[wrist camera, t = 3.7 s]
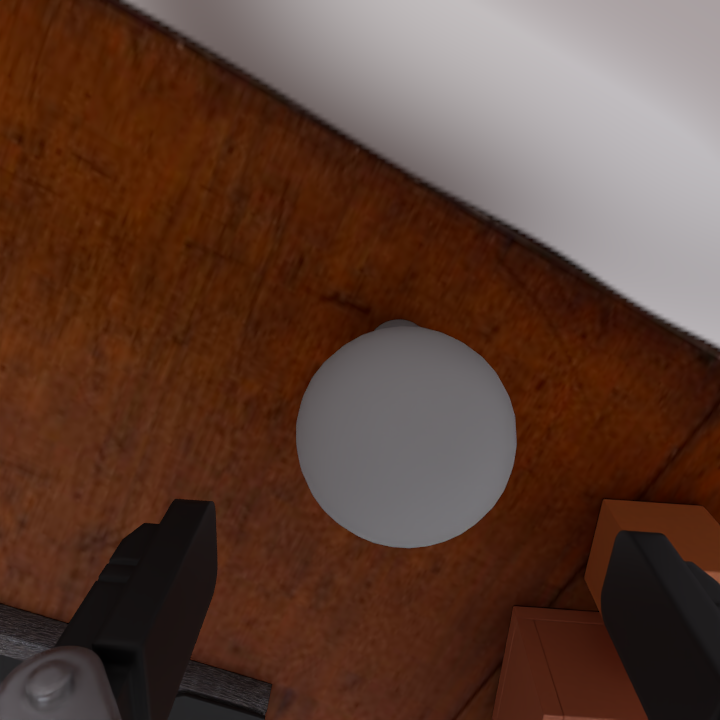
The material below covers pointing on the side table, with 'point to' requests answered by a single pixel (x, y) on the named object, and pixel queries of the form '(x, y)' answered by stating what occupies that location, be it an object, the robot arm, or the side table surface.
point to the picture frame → (197, 689)
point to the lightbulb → (406, 436)
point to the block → (676, 521)
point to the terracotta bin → (563, 670)
